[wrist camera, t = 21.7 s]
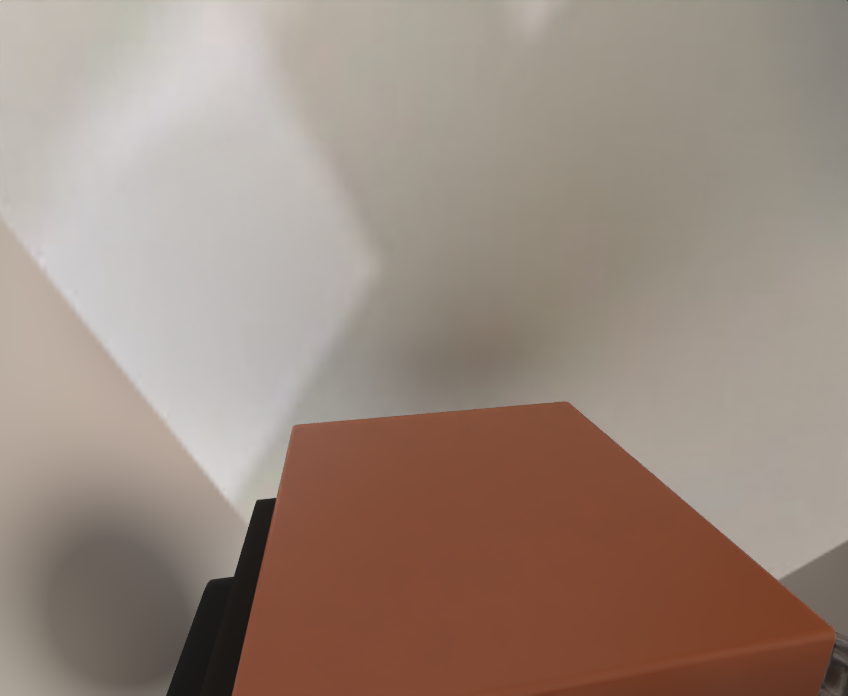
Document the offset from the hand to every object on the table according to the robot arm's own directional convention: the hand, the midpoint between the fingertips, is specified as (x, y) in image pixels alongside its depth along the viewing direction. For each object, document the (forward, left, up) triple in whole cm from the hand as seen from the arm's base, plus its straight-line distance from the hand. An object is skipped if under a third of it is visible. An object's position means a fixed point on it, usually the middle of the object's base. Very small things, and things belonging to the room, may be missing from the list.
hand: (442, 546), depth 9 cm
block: (0, 0, -1) cm, 1 cm away
